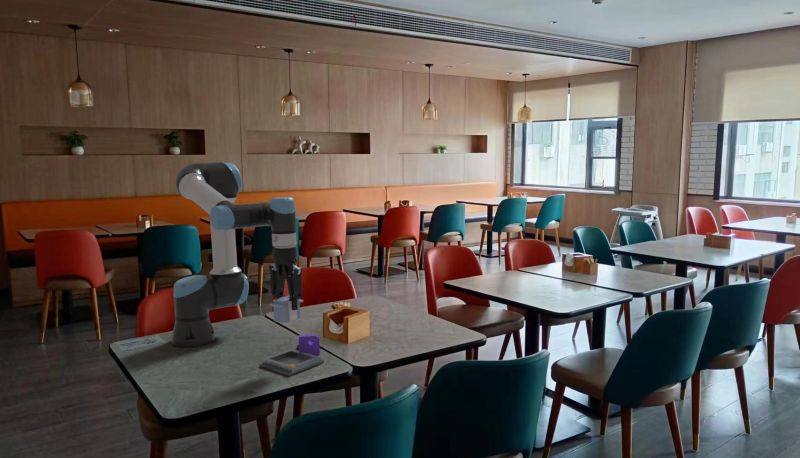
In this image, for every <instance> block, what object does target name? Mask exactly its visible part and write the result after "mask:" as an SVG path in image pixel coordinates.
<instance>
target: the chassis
mask: <svg viewBox="0 0 800 458" xmlns="http://www.w3.org/2000/svg"><path fill="white" fill-rule="evenodd" d="M261 360H262V361H261V363H259V364H258V366H259V367H260V368H263V369H265V370H269V371H272V372H274V373H277V374H280V375H281V374H282V375H283V376H284V375H285V376H286V377H291V376H293V375H296V374H297V373H298V374H299V373H301V372H304V371H306V370H308V369H310V368H313V367H316V366H318V365H321V364H323V363H324V362H325V360H324V359H322V357H321V356H319V355H317V354H316V355H312V354H308V353H305V352H301V351H299V350H298V349H293V348H290V349H287V350H284V351H281V352H279V353H278V352H277V353H275V354H272V355H270V356H267V357H264V358H262V359H261Z"/></svg>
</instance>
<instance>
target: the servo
mask: <svg viewBox="0 0 800 458" xmlns="http://www.w3.org/2000/svg"><path fill="white" fill-rule="evenodd" d="M293 296H294V295H293ZM288 299H290V296H289V294H287V295H285V296H282V298H277V299H276V298H274V299H273V300H272V303H269V307H273V321H274V322H277V323H281V324H286V323H289V322H291V321H289V307H288ZM303 302H304V299H301V298H299V299H298V300H297V305H298V306H297V307H298V309H297V319H296V320H293V321H292V322H294V321H297V320H301V306H300V305H301V304H300V303H303Z"/></svg>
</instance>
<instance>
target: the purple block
mask: <svg viewBox="0 0 800 458" xmlns="http://www.w3.org/2000/svg"><path fill="white" fill-rule="evenodd" d="M320 349H321V347H320V337H319V335H318V334H315V333H313V334H299V335H298V351H301V352H305V353H308V354H312V355H316V356H317V355H320Z"/></svg>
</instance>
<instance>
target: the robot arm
mask: <svg viewBox="0 0 800 458" xmlns="http://www.w3.org/2000/svg"><path fill="white" fill-rule="evenodd" d="M242 179H243V178H242V175H241V172H240V170H239V169H238V167H237V165H235V164H234V163H232V162H222V161H220V162H195V163H190V164H187V165H185V166H183V167H182V168H181V169H180V170H179V171H178V172H177V174H176V176H175V179H174V180H175V181H174V182H175V183H174V185H175V190H176V191H177V192H178V193H179V194H180V195H181V196H182V197H183V198H184V199H187V200H191V201H192V202H194V203H195V204H196V205H197V206H199V207H200V208H201V209H202V210H203V211H205V213H207V214H208V215H209V220H210V223H209V224H210V235H211V238H210V239H211V250H212V251H211V253H212V265H213V268H212V269H211V270H210V272H209V278H208V277H207V276H206V275H202V274H198V275H190V276H186V277H182V278H181V279H178V280H177V281H176V282H174V285H173V293H172V296H173V302H174V303H173V304H174V305H173V306H174V320H175V322H174V327H173V330H172V334H171V338H170V339H171V341H170V342H171V344H172V345H173V346H175V347H178V348H179V347H180V348H181V347H183V348H190V347H198V346H203V345H207V344H210V343H212V342H213V341H215V340H216V335H215V334H216V333H215V330H214V327H213V325H212V323H211V320H210V313H209V312H210V311H211V310H217V309H222V308H227V307H235V306H238V305H242V304H243V303H244V302H245V301H246V299H247V298H248V296H249V289H250V287H249V286H250V285H249V280H248V277H247V276H246V274H244V273H243V272H242V269H241V268H240V267H239V266H238V261H237V260H238V259H237V244H236V231H235V230H236V229H245V228H246V229H247V228H257V227H271V242H272V243H271V244H272V247H273V248H272V260H274V263H273V264H269V265H268V269H269V272H270V273H269V274H270V275H269V276H270V289H271V293H270V294H271V295H272V296H274V297H275V299H277V298H282V297H286V294H284V293H285V287H286V285H287V289H288V295H289V296H290V299H288V307H289V321H290V322H294V321H297V320H298V319H297V309H298V307H297V306H298V305H297V300H298V299H299V298H300V299H302V298H303V282H302V280H303V278H302V275H303V267H299V266H297V263H296V259H297V257H298V248H297V246H296V245H297V243H298V241H297V232H296V231H297V230H296V229H297V228H296V227H297V223H296V219H297V218H296V217H297V216H296V211H297V209H296V206H295V205H296V204H295V199H294V198H293V197H291V196H289V197H288V196H284V197H283V196H279V197H272V198H270V202H268V201H263V202H262V201H260V202H257V203H256V202H254V203H240V204H239V203H238V204H235V203H234V202H235V201H236V200H237V198H238V197H237V195H238V194H239V193H241V191H242V188H243V180H242ZM293 295H294V296H293ZM296 319H297V320H296ZM293 320H294V321H293Z"/></svg>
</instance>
